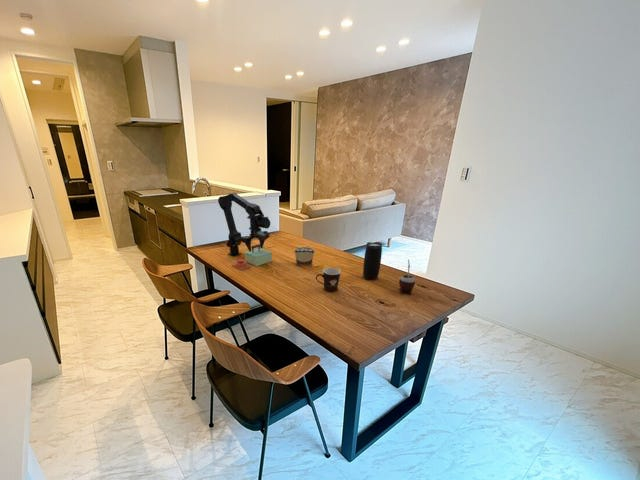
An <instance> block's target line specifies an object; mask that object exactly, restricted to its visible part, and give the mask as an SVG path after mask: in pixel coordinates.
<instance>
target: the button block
mask: <svg viewBox="0 0 640 480" xmlns="http://www.w3.org/2000/svg"><path fill="white" fill-rule="evenodd" d="M232 267H234V268H236V269H238V270H240V271H244V270H248V269H251V268H250V267H251V266H250V265H248V264H247V262H246V260H244V263H241V264H239V263H238V260H237V261H235V262H234V263H232Z"/></svg>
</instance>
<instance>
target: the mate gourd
mask: <svg viewBox="0 0 640 480" xmlns="http://www.w3.org/2000/svg"><path fill="white" fill-rule="evenodd" d="M407 264H408V265H407V274H404V275H402V276H400V278H399V281H398V284H399V290H400V294H404V293H406V294H408V295H411V294H412V291H413V288H414V287H415V285H416V279H415V277H414V276H412V275H410V269H411V265H410V259H407Z"/></svg>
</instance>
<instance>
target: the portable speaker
mask: <svg viewBox="0 0 640 480" xmlns="http://www.w3.org/2000/svg"><path fill="white" fill-rule="evenodd" d="M382 255H383V243H382V242H378V241H377V242H376V241H375V242H371V241H368V242H366V246H365V251H364V258H363V267H362V268H363V269H362V278H363V279H364V280H367V279H371V280H373V281H376V280H378V279H379V278H378V277H379V273H380V269H381V263H382Z"/></svg>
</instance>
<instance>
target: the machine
mask: <svg viewBox="0 0 640 480" xmlns="http://www.w3.org/2000/svg"><path fill="white" fill-rule="evenodd" d="M244 254H245V253H244ZM244 259H245V261H246V263H249V264H251V265H253V266H256V267H258V266H261V265H264V264H267V263H270V262H273V252H272V253H271V254H268V255H264V256H261V257H258V258H255V257H253V256H250V255H248V254H245V255H244Z"/></svg>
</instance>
